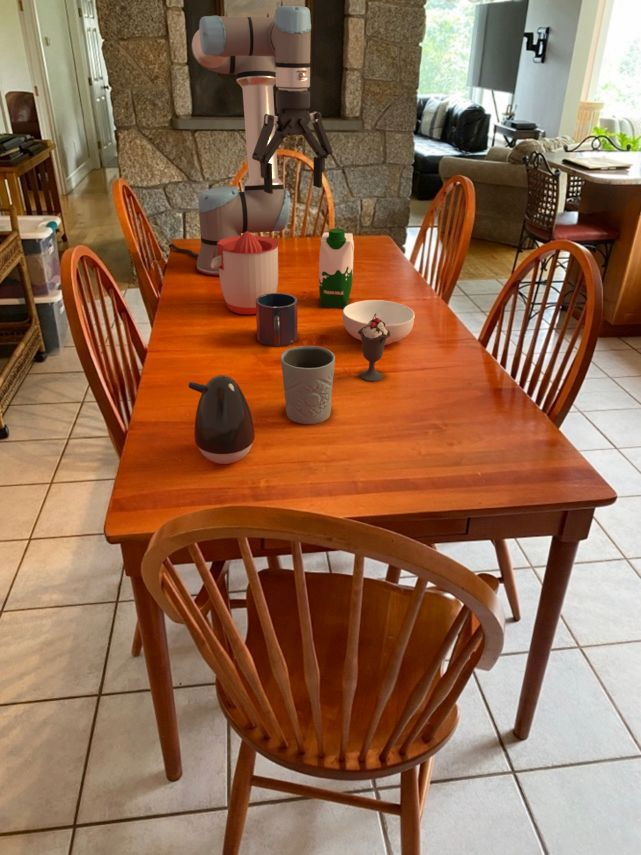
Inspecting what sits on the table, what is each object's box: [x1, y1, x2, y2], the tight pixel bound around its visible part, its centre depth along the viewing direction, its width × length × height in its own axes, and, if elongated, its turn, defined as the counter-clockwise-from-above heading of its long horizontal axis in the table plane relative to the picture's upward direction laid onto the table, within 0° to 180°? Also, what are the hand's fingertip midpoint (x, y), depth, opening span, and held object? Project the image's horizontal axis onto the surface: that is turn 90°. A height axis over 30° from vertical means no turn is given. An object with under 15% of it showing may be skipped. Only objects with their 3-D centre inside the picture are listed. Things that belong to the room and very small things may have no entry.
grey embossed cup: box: [280, 345, 336, 425], centre depth 125 cm, size 10×10×12 cm
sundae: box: [358, 313, 390, 382], centre depth 138 cm, size 7×7×15 cm
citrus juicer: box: [211, 231, 280, 315], centre depth 170 cm, size 16×17×20 cm
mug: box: [255, 292, 298, 347], centre depth 155 cm, size 13×10×10 cm
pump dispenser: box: [187, 374, 256, 465], centre depth 111 cm, size 10×10×15 cm
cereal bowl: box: [342, 299, 416, 346], centre depth 157 cm, size 17×17×7 cm
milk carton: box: [318, 228, 355, 309], centre depth 174 cm, size 9×9×20 cm
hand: (293, 189), depth 157 cm, fingers open, 13 cm apart
